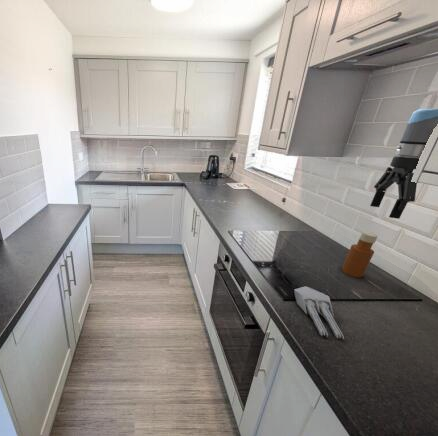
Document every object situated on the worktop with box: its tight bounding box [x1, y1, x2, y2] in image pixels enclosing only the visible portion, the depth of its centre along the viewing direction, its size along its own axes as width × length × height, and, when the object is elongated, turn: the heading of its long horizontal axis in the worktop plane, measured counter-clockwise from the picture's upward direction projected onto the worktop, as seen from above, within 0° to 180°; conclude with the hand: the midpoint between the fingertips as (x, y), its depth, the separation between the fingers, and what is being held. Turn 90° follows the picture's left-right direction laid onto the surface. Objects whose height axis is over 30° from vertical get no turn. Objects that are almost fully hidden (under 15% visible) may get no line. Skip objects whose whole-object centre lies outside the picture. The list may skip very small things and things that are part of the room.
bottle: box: [341, 238, 375, 278], centre depth 98 cm, size 7×7×16 cm
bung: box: [359, 230, 379, 244], centre depth 95 cm, size 5×5×6 cm
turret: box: [293, 285, 345, 340], centre depth 77 cm, size 10×20×5 cm, turn 171°
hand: (383, 211), depth 91 cm, fingers open, 13 cm apart
